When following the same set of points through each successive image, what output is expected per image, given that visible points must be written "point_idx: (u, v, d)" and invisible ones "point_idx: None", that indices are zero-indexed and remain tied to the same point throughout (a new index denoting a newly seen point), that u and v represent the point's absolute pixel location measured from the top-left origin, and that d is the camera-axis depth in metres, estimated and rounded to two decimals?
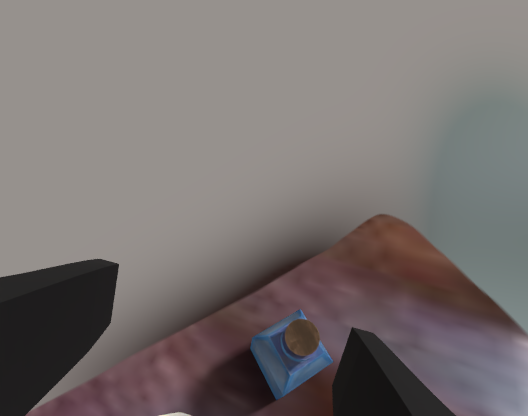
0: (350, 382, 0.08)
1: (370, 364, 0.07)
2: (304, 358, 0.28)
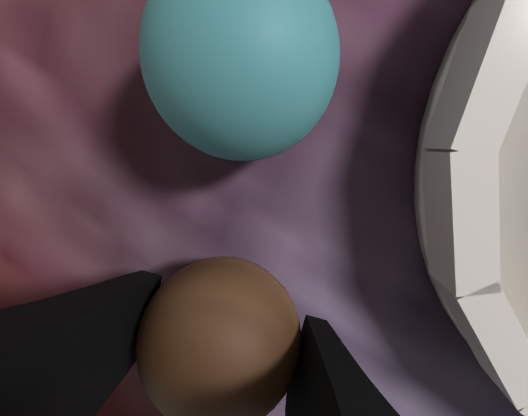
0: (299, 368, 0.08)
1: (313, 348, 0.07)
2: None
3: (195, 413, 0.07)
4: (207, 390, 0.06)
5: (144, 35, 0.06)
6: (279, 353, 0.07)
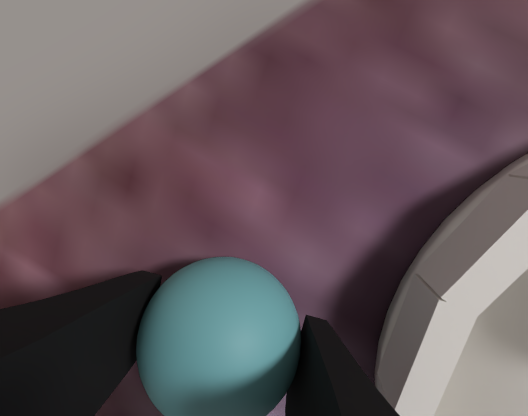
0: (299, 368, 0.08)
1: (313, 348, 0.07)
2: None
3: None
4: None
5: (140, 366, 0.07)
6: None
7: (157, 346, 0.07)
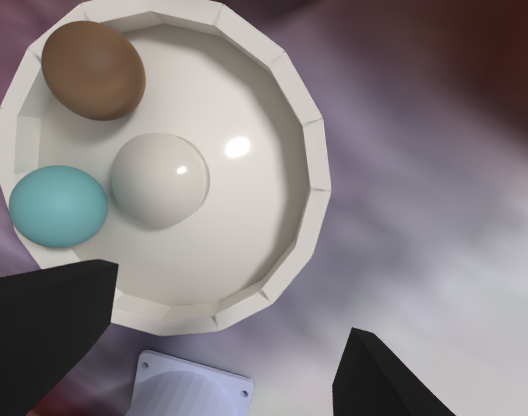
0: (349, 382, 0.08)
1: (370, 364, 0.07)
2: None
3: (74, 50, 0.13)
4: (85, 40, 0.13)
5: None
6: (128, 53, 0.14)
7: (12, 194, 0.15)
